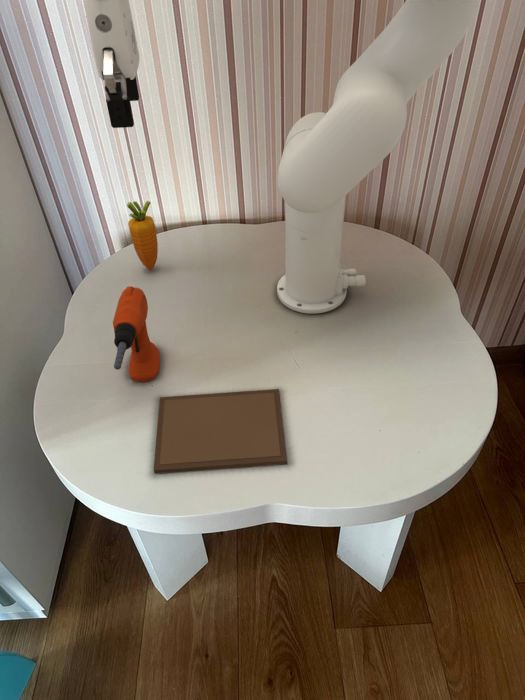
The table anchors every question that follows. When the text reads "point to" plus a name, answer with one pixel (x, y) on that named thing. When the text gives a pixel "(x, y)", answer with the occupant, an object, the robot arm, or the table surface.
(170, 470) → the mat
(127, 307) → the toy drill
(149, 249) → the carrot
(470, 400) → the table surface
